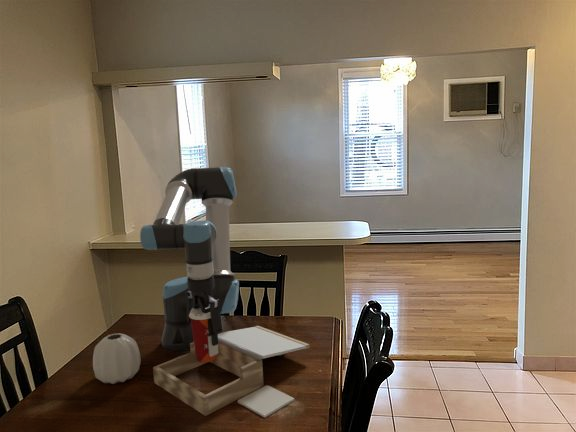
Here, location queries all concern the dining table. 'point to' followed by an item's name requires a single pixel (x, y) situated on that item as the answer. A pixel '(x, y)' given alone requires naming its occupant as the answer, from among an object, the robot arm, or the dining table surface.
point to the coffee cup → (201, 334)
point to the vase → (116, 358)
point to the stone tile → (266, 401)
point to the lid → (260, 342)
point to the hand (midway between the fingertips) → (206, 350)
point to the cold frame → (220, 397)
